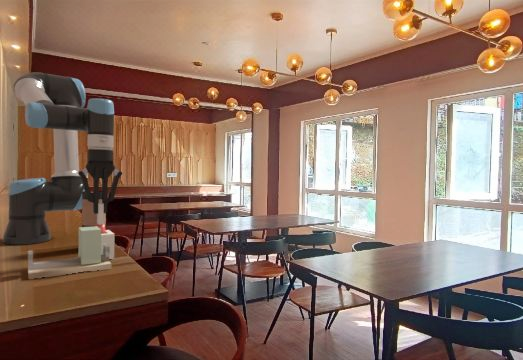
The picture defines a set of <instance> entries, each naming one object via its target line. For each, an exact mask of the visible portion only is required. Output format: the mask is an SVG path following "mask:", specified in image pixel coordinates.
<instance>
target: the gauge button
mask: <svg viewBox="0 0 523 360" xmlns="http://www.w3.org/2000/svg"><path fill="white" fill-rule="evenodd" d="M95 226H97V227H99V228H100V229H101V234H105V224H101V225H98V224H95Z"/></svg>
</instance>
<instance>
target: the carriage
mask: <svg viewBox="0 0 523 360" xmlns="http://www.w3.org/2000/svg"><path fill="white" fill-rule="evenodd" d="M77 255H78V256H77V257H80V258H81V265H86V264H94V263H101V229H100V228H99V227H97V226H94V227H82V226H81V227H78V254H77Z"/></svg>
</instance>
